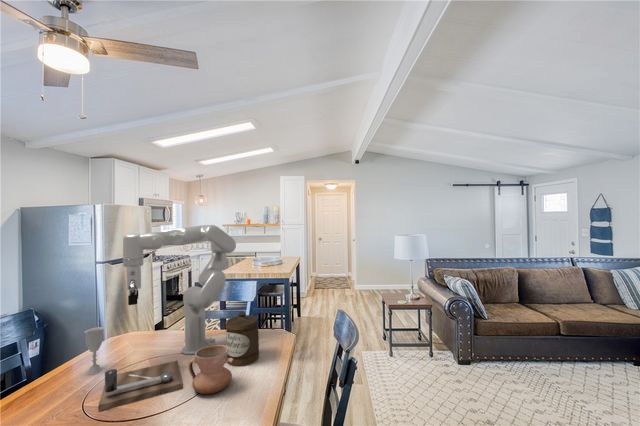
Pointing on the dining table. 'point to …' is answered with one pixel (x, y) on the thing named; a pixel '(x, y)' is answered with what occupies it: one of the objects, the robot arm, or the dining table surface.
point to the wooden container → (242, 339)
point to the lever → (113, 389)
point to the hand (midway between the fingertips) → (133, 301)
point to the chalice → (94, 346)
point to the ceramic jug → (211, 369)
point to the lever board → (142, 392)
